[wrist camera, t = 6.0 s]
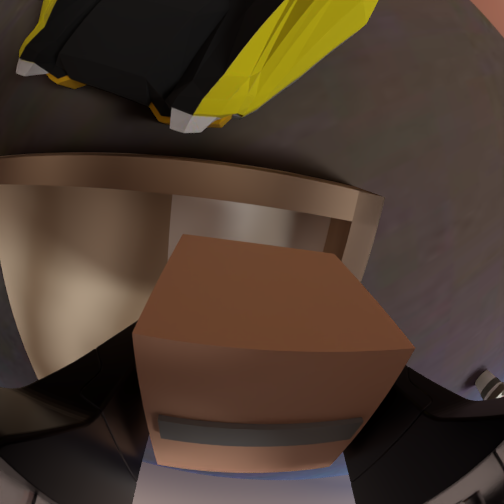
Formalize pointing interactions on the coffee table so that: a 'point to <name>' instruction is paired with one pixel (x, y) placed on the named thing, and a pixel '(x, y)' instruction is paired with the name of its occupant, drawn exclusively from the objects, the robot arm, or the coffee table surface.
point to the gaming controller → (188, 51)
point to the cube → (260, 357)
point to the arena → (146, 234)
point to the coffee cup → (489, 386)
